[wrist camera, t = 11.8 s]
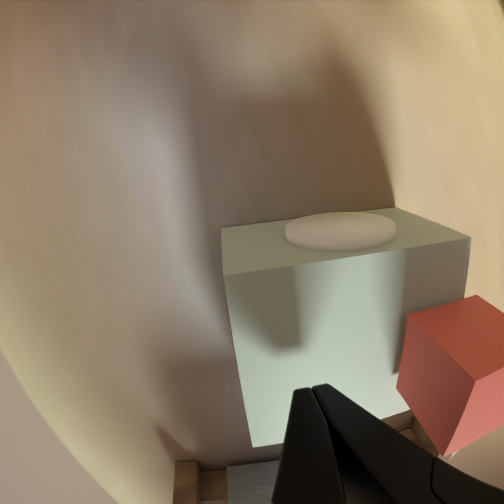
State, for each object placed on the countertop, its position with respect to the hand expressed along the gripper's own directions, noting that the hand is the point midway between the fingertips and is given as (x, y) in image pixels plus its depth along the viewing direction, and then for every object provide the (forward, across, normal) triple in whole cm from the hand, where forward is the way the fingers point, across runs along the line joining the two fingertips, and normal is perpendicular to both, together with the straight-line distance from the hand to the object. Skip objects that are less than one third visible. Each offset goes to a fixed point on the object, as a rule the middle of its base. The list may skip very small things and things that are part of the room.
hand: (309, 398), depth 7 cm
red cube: (+1, -4, 0) cm, 4 cm away
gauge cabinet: (+6, -2, 0) cm, 6 cm away
